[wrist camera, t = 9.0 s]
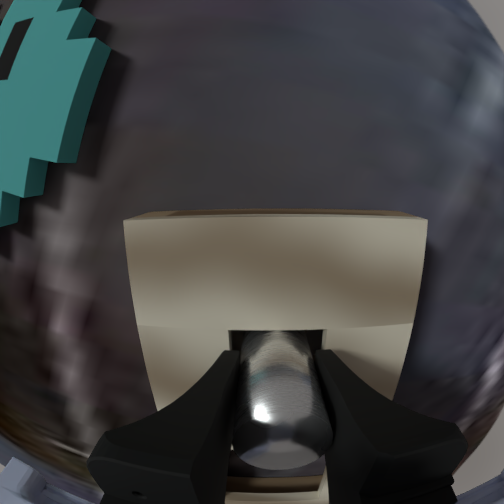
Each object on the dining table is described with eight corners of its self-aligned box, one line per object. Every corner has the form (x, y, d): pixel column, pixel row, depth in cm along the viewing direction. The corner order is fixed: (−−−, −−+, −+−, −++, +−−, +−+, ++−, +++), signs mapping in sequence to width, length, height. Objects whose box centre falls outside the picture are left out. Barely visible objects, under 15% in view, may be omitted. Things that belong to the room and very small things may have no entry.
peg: (323, 371, 15) (354, 478, 8) (222, 373, 15) (202, 484, 8) (331, 276, 14) (393, 364, 7) (214, 278, 14) (173, 373, 7)
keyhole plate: (340, 481, 18) (345, 507, 15) (198, 481, 19) (192, 507, 16) (397, 211, 13) (427, 219, 10) (150, 211, 14) (123, 220, 11)
